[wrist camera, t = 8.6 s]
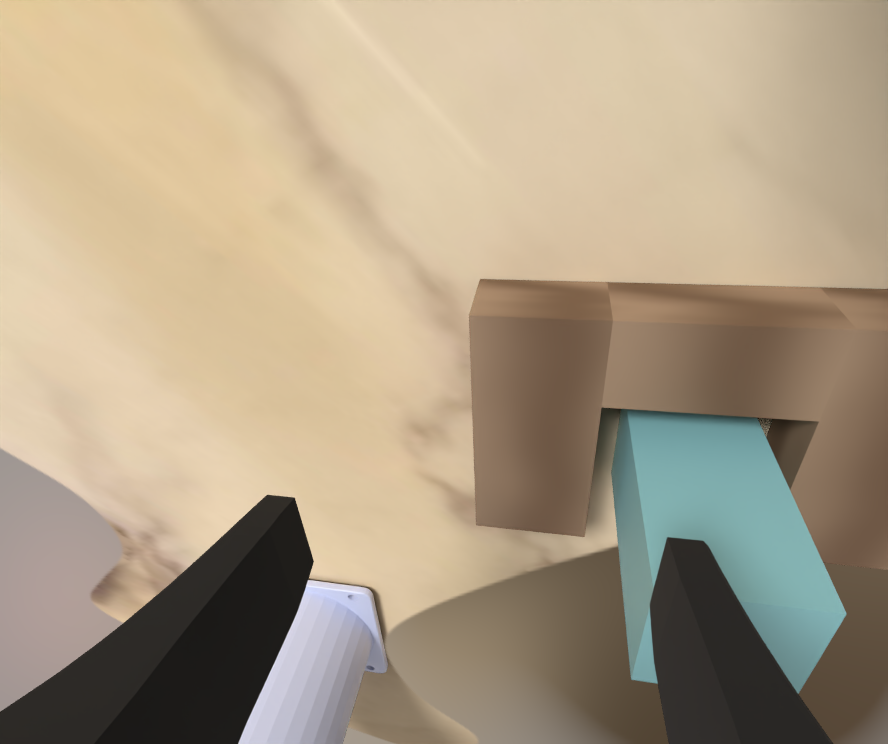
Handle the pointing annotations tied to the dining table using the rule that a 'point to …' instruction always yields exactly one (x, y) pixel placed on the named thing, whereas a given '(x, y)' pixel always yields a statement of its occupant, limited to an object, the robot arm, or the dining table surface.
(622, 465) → the peg
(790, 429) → the u-shaped block
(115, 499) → the dining table surface
